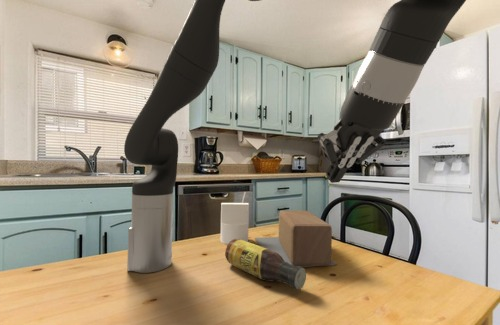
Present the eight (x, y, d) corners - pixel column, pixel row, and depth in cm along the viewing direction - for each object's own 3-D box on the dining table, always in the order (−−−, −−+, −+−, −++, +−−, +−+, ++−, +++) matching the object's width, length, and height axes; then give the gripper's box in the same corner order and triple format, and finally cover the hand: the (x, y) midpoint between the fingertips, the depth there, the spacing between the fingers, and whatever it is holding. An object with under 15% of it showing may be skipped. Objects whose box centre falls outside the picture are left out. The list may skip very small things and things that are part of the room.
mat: (274, 268, 58) (274, 267, 58) (254, 238, 81) (254, 237, 81) (336, 265, 61) (336, 263, 61) (300, 237, 84) (300, 236, 84)
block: (333, 225, 59) (309, 210, 79) (292, 225, 58) (278, 209, 78) (332, 266, 59) (308, 241, 79) (291, 266, 58) (278, 241, 78)
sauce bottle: (222, 242, 58) (289, 266, 44) (241, 234, 63) (308, 253, 48) (224, 269, 59) (292, 301, 44) (243, 259, 63) (310, 285, 49)
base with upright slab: (247, 236, 84) (248, 201, 84) (248, 245, 75) (249, 206, 75) (221, 236, 83) (222, 201, 84) (219, 245, 74) (220, 205, 75)
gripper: (393, 82, 40) (348, 165, 50) (326, 76, 35) (292, 168, 45) (432, 103, 34) (372, 190, 45) (359, 98, 30) (311, 197, 40)
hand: (332, 179), depth 45 cm, fingers closed
